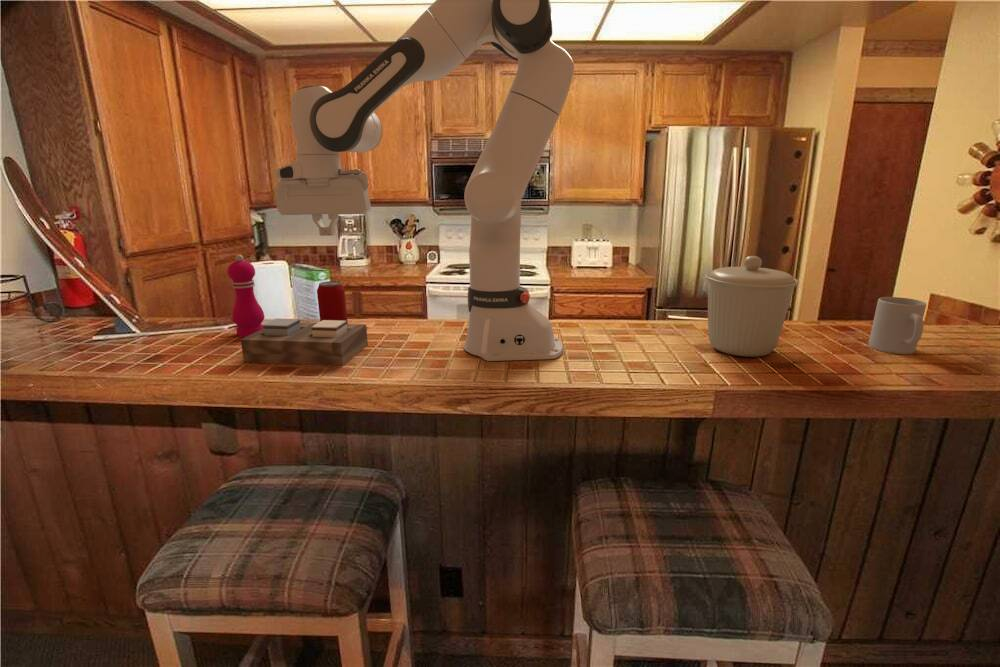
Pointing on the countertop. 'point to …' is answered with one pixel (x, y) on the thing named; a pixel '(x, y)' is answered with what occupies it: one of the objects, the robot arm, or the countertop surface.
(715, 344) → the canister
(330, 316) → the beverage can
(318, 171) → the robot arm
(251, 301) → the pepper mill
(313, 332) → the cream key
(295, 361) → the frame
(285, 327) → the slate key
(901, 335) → the mug
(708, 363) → the countertop surface
